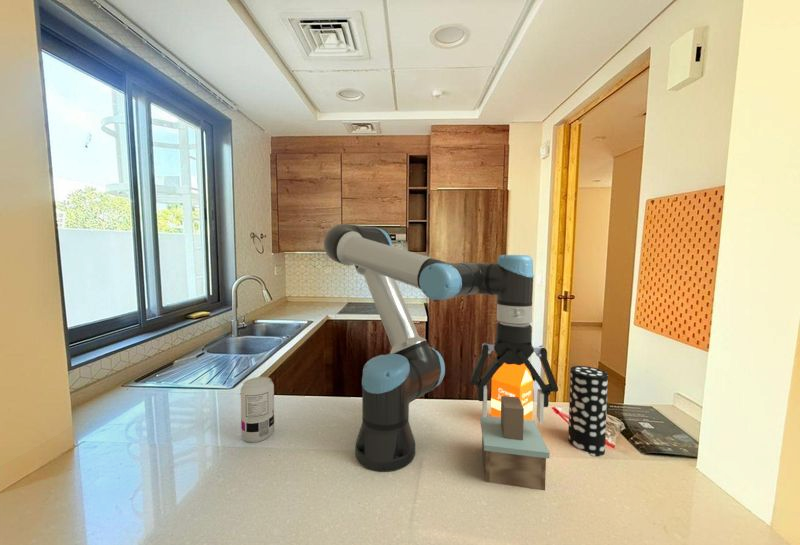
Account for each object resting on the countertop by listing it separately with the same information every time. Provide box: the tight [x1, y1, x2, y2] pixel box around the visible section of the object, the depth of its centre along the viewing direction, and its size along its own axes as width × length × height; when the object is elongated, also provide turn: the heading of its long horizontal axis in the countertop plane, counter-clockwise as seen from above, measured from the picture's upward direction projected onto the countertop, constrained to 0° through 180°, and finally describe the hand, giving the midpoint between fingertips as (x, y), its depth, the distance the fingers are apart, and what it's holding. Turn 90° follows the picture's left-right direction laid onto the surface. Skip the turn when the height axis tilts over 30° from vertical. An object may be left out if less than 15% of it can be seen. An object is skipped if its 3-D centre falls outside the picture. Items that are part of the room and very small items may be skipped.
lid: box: [479, 396, 550, 459], centre depth 72 cm, size 13×13×8 cm
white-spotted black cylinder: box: [567, 365, 609, 457], centre depth 81 cm, size 8×8×20 cm
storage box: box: [481, 436, 547, 491], centre depth 72 cm, size 12×12×8 cm
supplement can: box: [240, 376, 275, 443], centre depth 85 cm, size 8×8×15 cm
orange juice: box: [490, 363, 534, 420], centre depth 90 cm, size 8×9×20 cm
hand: (511, 417), depth 72 cm, fingers open, 11 cm apart
